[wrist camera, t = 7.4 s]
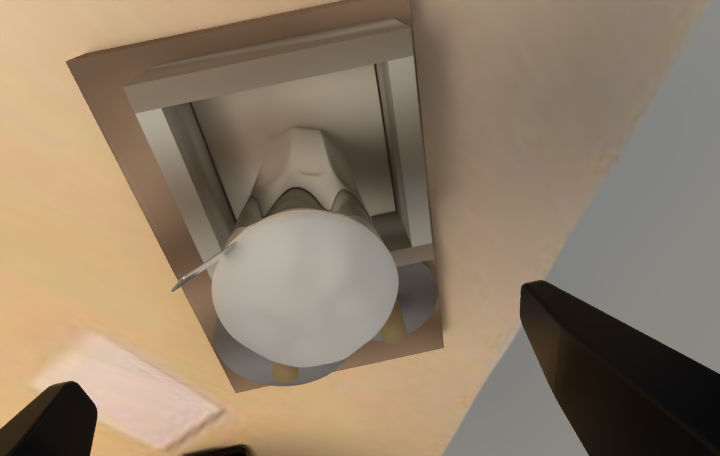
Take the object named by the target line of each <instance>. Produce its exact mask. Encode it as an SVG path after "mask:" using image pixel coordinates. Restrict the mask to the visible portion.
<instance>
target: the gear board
mask: <svg viewBox="0 0 720 456" xmlns="http://www.w3.org/2000/svg"><path fill="white" fill-rule="evenodd" d="M66 63H67V65H68V67H69V69H70V71H71V73H72V75H73V77H74V79H75V81H76V83H77V85H78V86H79V88H80V90H81V92H82V94H83V96H84V98H85V100H86V102H87V104H88V106H89V108H90V110H91V112H92V114H93V116H94V118H95V120H96V122H97V124H98V125H99V127H100V129H101V131H102V133H103V135H104V137H105V139H106V141H107V143H108V145H109V147H110V149H111V151H112V153H113V155H114V157H115V159H116V161H117V163H118V164H119V166H120V168H121V170H122V172H123V174H124V176H125V178H126V180H127V182H128V184H129V186H130V188H131V190H132V192H133V194H134V196H135V198H136V200H137V202H138V203H139V205H140V207H141V209H142V211H143V213H144V215H145V217H146V219H147V221H148V223H149V225H150V227H151V229H152V231H153V233H154V235H155V237H156V239H157V241H158V242H159V244H160V246H161V248H162V250H163V252H164V254H165V256H166V258H167V260H168V262H169V264H170V266H171V268H172V270H173V272H174V274H175V276H176V278H177V280H178V281H179V280H180V279H181V278H182V277H183V276H185V275H186V274H188V273H189V272H191V271H192V270H194V269H195V268H197V267H198V266H200V265H201V264H203V263H204V262H206V261H207V260H209V259H210V258H212V257H213V256H215V255H216V254H218V253H219V252H221V251H222V250H224V248H225V246H226V244H227V242H228V239H229V237H230V235H231V233H232V230H233V228H234V226H235V224H236V222H237V220H238V217H239V215H240V213H241V211H242V209H243V207H244V205H245V203H246V201H247V199H248V197H249V195H250V192H251V190H252V187H253V184H254V182H255V179H256V176H257V173H258V171H259V168H260V165H261V163H262V160H263V158H264V155H265V153H266V150H267V148H268V145H269V142H270V140H271V139H273V138H275V137H277V136H278V135H280V134H282V133H284V132H285V131H287V130H289V129H291V128H292V127H298V128H308V129H319V130H321V131H322V132H323V133H324V134H325V135H326V136H328V137H329V138H330V139H331V140H332V141H333V142H335V143H336V144H337V145H338V146H339V147H340V149H341V152H342V154H343V156H344V158H345V161H346V163H347V165H348V167H349V170H350V172H351V174H352V177H353V179H354V181H355V183H356V186H357V188H358V190H359V193H360V195H361V197H362V199H363V202H364V204H365V206H366V208H367V210H368V212H369V214H370V216H371V218H372V220H373V222H374V224H375V226H376V228H377V230H378V232H379V234H380V236H381V237H382V239H383V241H384V243H385V245H386V247H387V249H388V251H389V252H390V254H391V256H392V258H393V260H394V262H395V264H396V268H397V272H398V278H399V286H398V293H397V297H396V301H395V304H394V307H393V309H392V312H391V314H390V316H389V318H388V319H387V321H386V323H385V324H384V326H383V327H382V328H381V330H380V331H379V332H378V333H377V334H376V335H375V336H374V337H373V338H372V339H371V340H370V341H368V342H367V343H366V344H364V345H363V346H362V347H360V348H359V349H358V350H356V351H355V352H354V353H353V354H351V355H350V356H349V357H347V358H345V359H343V360H341V361H338V362H334V363H329V364H324V365H319V366H313V367H293V366H287V365H283V364H280V363H276V362H274V361H271V360H269V359H267V358H265V357H263V356H261V355H259V354H257V353H256V352H254V351H252V350H250V349H249V348H247V347H245V346H244V345H242V344H241V343H239V342H238V341H237V340H236V339H234V338H233V337H232V336H231V335H230V334H229V333H228V331H227V330H226V329H225V327H224V326H223V324H222V323H221V321H220V319H219V317H218V315H217V313H216V310H215V307H214V304H213V299H212V279H213V275H214V271H215V268H216V266H217V264H218V262H219V260H220V259H219V260H218V261H217V262H215V263H214V264H212V265H211V266H209V267H208V268H207V269H205V270H204V271H202V272H201V273H199V274H198V275H196V276H195V277H194V278H192V279H191V280H189V281H188V282H186V283H185V284H184V285H182V286H181V287H182V289H183V291H184V293H185V295H186V297H187V299H188V301H189V303H190V305H191V307H192V309H193V311H194V313H195V315H196V317H197V319H198V320H199V322H200V324H201V326H202V328H203V330H204V332H205V334H206V336H207V338H208V340H209V342H210V344H211V346H212V348H213V350H214V352H215V354H216V356H217V358H218V359H219V361H220V363H221V365H222V367H223V369H224V371H225V373H226V375H227V377H228V379H229V381H230V383H231V385H232V387H233V389H234V391H235V393H238V392H243V391H248V390H252V389H257V388H261V387H266V386H271V385H272V386H293V385H300V384H305V383H309V382H312V381H315V380H318V379H320V378H322V377H324V376H327V375H328V374H330V373H331V372H335V371H339V370H344V369H349V368H353V367H358V366H362V365H367V364H372V363H376V362H381V361H385V360H390V359H395V358H399V357H404V356H408V355H413V354H418V353H422V352H427V351H431V350H436V349H441V348H444V344H443V333H442V323H441V313H440V303H439V292H438V282H437V272H436V262H435V251H434V241H433V231H432V221H431V210H430V200H429V190H428V180H427V169H426V159H425V149H424V139H423V128H422V118H421V108H420V98H419V87H418V77H417V67H416V57H415V47H414V36H413V26H412V16H411V6H410V0H344V1H339V2H334V3H329V4H325V5H320V6H315V7H310V8H305V9H300V10H295V11H291V12H286V13H281V14H276V15H271V16H266V17H261V18H257V19H252V20H247V21H242V22H237V23H232V24H227V25H222V26H218V27H213V28H208V29H203V30H198V31H193V32H188V33H184V34H179V35H174V36H169V37H164V38H159V39H154V40H150V41H145V42H140V43H135V44H130V45H125V46H120V47H116V48H111V49H106V50H101V51H96V52H91V53H86V54H83V55H80V56H78V57H76V58H73V59H71V60H68V61H66Z"/></svg>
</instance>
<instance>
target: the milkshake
mask: <svg viewBox="0 0 720 456" xmlns="http://www.w3.org/2000/svg"><path fill="white" fill-rule="evenodd" d="M219 259H220V260H219ZM218 260H219V262H218V264H217V266H216V268H215V271H214V275H213V279H212V299H213V304H214V307H215V310H216V313H217V315H218V317H219V319H220V321H221V323H222V324H223V326H224V327H225V329H226V330H227V331H228V333H229V334H230V335H231V336H232V337H233V338H234V339H236V340H237V341H238V342H239V343H241V344H242V345H244V346H245V347H247V348H249V349H250V350H252V351H254V352H256V353H257V354H259V355H261V356H263V357H265V358H267V359H269V360H271V361H274V362H276V363H280V364H283V365H287V366H293V367H313V366H319V365H324V364H329V363H334V362H338V361H341V360H343V359H345V358H347V357H349V356H350V355H351V354H353V353H354V352H355V351H356V350H358V349H359V348H360V347H362V346H363V345H364V344H366V343H367V342H368V341H370V340H371V339H372V338H373V337H374V336H375V335H376V334H377V333H378V332H379V331H380V330H381V328H382V327H383V326H384V324H385V323H386V321H387V319H388V318H389V316H390V314H391V312H392V309H393V307H394V304H395V301H396V297H397V293H398V286H399V278H398V272H397V268H396V264H395V262H394V260H393V258H392V256H391V254H390V252H389V251H388V249H387V247H386V245H385V243H384V241H383V239H382V237H381V236H380V234H379V232H378V230H377V228H376V226H375V224H374V222H373V220H372V218H371V216H370V214H369V212H368V210H367V208H366V206H365V204H364V202H363V199H362V197H361V195H360V193H359V190H358V188H357V186H356V183H355V181H354V179H353V177H352V174H351V172H350V170H349V167H348V165H347V163H346V161H345V158H344V156H343V154H342V152H341V149H340V147H339V146H338V145H337V144H336V143H335V142H333V141H332V140H331V139H330V138H329V137H328V136H326V135H325V134H324V133H323V132H322V131H321V130H319V129H308V128H298V127H292V128H291V129H289V130H287V131H285V132H284V133H282V134H280V135H278V136H277V137H275V138H273V139H271V140H270V142H269V145H268V148H267V150H266V153H265V155H264V158H263V160H262V163H261V165H260V168H259V171H258V173H257V176H256V179H255V182H254V184H253V187H252V190H251V192H250V195H249V197H248V199H247V201H246V203H245V205H244V207H243V209H242V211H241V213H240V215H239V217H238V220H237V222H236V224H235V226H234V228H233V230H232V233H231V235H230V237H229V239H228V242H227V244H226V246H225V248H224V250H222V251H221V252H219V253H218V254H216V255H215V256H213V257H212V258H210V259H209V260H207V261H206V262H204V263H203V264H201V265H200V266H198V267H197V268H195V269H194V270H192V271H191V272H189V273H188V274H186V275H185V276H183V277H182V278H181V279H180V280H179V281H178V283H177V284H176V285H175V286H174V287H173V288H172V290H171V291H172V292H173V291H175V290H176V289H178V288H179V287H181V286H182V285H184V284H185V283H186V282H188V281H189V280H191V279H192V278H194V277H195V276H196V275H198V274H199V273H201V272H202V271H204V270H205V269H207V268H208V267H209V266H211V265H212V264H214V263H215V262H217V261H218Z"/></svg>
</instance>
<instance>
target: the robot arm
mask: <svg viewBox="0 0 720 456" xmlns="http://www.w3.org/2000/svg"><path fill="white" fill-rule="evenodd" d="M520 318H521V322H522V325H523V327H524V330H525V332H526V334H527V336H528V339H529V341H530V343H531V345H532V347H533V350H534V352H535V354H536V356H537V359H538V361H539V363H540V366H541V368H542V370H543V372H544V374H545V377H546V379H547V381H548V384H549V386H550V388H551V390H552V392H553V394H554V396H555V398H556V399H557V401H558V403H559V405H560V407H561V408H562V410H563V412H564V413H565V415H566V417H567V419H568V420H569V422H570V424H571V426H572V427H573V429H574V431H575V432H576V434H577V436H578V437H579V439H580V441H581V442H582V444H583V446H584V448H585V450H586V451H587V453H588V455H589V456H720V374H719V373H717V372H715V371H713V370H711V369H709V368H707V367H706V366H704V365H702V364H700V363H698V362H696V361H694V360H692V359H691V358H689V357H687V356H685V355H683V354H681V353H679V352H677V351H676V350H674V349H672V348H670V347H668V346H666V345H664V344H662V343H661V342H659V341H657V340H655V339H653V338H651V337H649V336H648V335H646V334H644V333H642V332H640V331H638V330H636V329H634V328H632V327H631V326H628V325H627V324H625V323H623V322H621V321H619V320H618V319H616V318H614V317H612V316H610V315H608V314H606V313H604V312H603V311H601V310H599V309H597V308H595V307H593V306H591V305H589V304H588V303H586V302H584V301H582V300H580V299H578V298H576V297H574V296H572V295H571V294H569V293H567V292H565V291H563V290H561V289H559V288H557V287H556V286H554V285H552V284H550V283H548V282H546V281H543V280H538V281H534V282H529V283H525V284H523V285H522V287H521V298H520ZM96 422H97V408H96V406H95V404H94V403H93V401H92V400H91V399H90V398H89V396H88V395H87V394H86V393H85V391H84V390H83V389H82V388H81V387H80V385H79V384H78V383H76V382H74V381H68V382H63V383H58V384H54V385H52V386H50V387H48V388H47V389H46V390H44V391H43V392H42V393H41V394H40V395H39V396H38V397H36V398H35V399H34V400H33V401H32V402H31V403H30V404H28V405H27V406H26V407H25V408H24V409H23V410H22V411H20V412H19V413H18V414H17V415H16V416H15V417H14V418H12V419H11V420H10V421H9V422H8V423H7V424H6V425H4V426H3V427H2V428H1V429H0V456H90V452H91V447H92V442H93V437H94V432H95V427H96ZM200 456H250V454H249V452H248V450H247V449H246V448H244V447H237V448H232V449H227V450H223V451H218V452H214V453H209V454H205V455H200Z"/></svg>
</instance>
